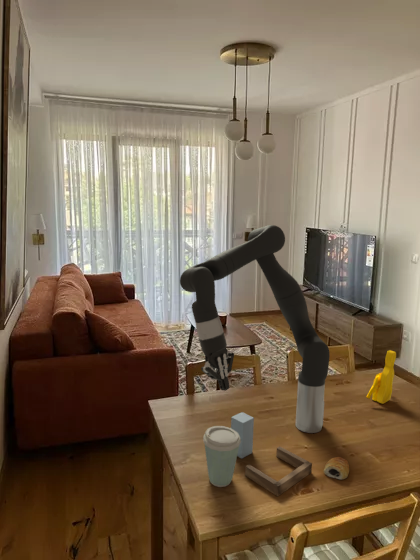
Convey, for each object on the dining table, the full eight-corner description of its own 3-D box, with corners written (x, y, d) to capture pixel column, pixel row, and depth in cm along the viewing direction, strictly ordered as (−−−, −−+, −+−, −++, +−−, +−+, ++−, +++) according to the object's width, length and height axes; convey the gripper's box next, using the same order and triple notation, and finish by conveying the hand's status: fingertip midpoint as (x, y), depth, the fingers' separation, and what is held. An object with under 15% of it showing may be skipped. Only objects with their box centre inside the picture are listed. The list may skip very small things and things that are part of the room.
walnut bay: (279, 454, 135) (279, 446, 135) (311, 472, 126) (312, 463, 126) (245, 475, 124) (245, 466, 124) (277, 496, 116) (278, 486, 115)
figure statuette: (382, 391, 183) (387, 342, 179) (400, 398, 177) (406, 347, 174) (361, 403, 172) (365, 351, 168) (379, 410, 166) (384, 357, 162)
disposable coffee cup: (228, 465, 129) (229, 420, 126) (246, 487, 119) (248, 438, 117) (196, 474, 124) (197, 427, 122) (212, 497, 115) (213, 446, 112)
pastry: (331, 459, 133) (332, 448, 133) (353, 467, 130) (354, 455, 129) (322, 475, 126) (323, 463, 125) (345, 483, 122) (346, 471, 121)
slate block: (240, 445, 140) (242, 412, 138) (252, 452, 136) (253, 417, 134) (230, 451, 136) (231, 416, 134) (241, 458, 133) (243, 423, 131)
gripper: (216, 327, 131) (230, 379, 133) (186, 342, 122) (201, 398, 124) (234, 326, 126) (248, 381, 128) (204, 341, 117) (220, 400, 119)
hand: (225, 389), depth 126 cm, fingers closed
